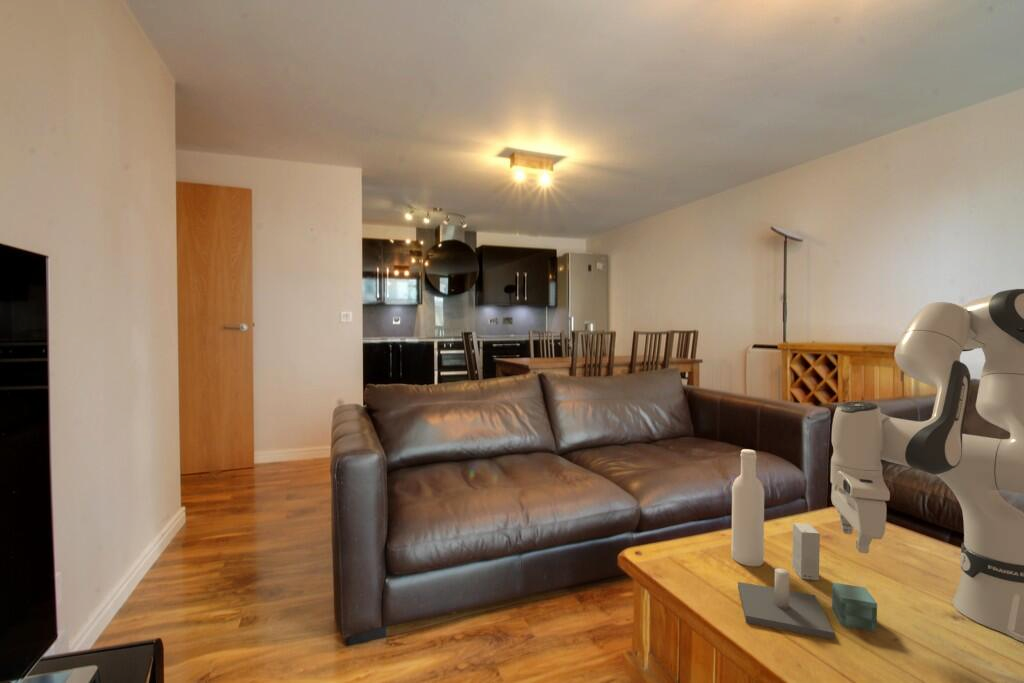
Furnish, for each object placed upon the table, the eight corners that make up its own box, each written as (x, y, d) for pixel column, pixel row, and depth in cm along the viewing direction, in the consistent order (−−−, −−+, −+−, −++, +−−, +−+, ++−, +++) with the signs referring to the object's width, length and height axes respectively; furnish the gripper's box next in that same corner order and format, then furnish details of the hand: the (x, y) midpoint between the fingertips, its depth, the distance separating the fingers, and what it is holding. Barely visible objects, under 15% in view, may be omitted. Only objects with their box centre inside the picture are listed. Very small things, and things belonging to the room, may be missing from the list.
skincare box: (819, 581, 114) (820, 533, 114) (800, 579, 115) (801, 532, 115) (809, 568, 120) (810, 523, 120) (791, 567, 121) (792, 522, 121)
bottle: (724, 556, 127) (725, 449, 126) (743, 550, 130) (744, 445, 129) (751, 569, 120) (752, 456, 119) (770, 562, 123) (771, 452, 122)
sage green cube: (865, 614, 101) (865, 587, 101) (876, 631, 95) (877, 603, 95) (831, 608, 103) (832, 582, 103) (841, 625, 97) (841, 597, 97)
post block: (814, 601, 106) (815, 562, 106) (833, 639, 93) (834, 596, 92) (738, 587, 111) (738, 551, 111) (745, 622, 98) (746, 581, 98)
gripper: (824, 463, 109) (822, 521, 109) (854, 491, 90) (853, 560, 90) (855, 466, 107) (854, 525, 107) (894, 495, 88) (892, 566, 88)
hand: (854, 541), depth 98 cm, fingers open, 8 cm apart
